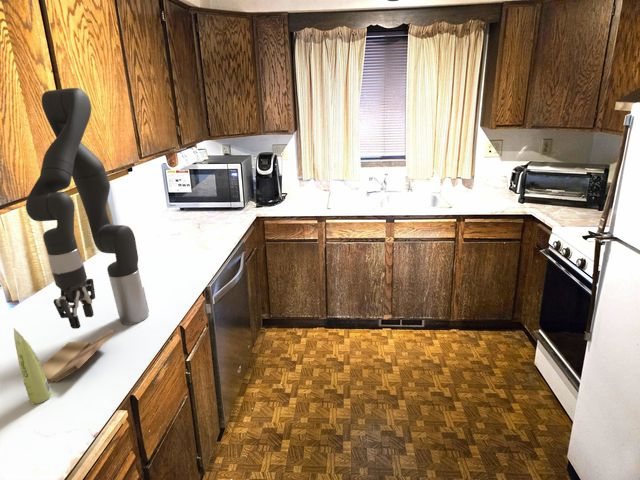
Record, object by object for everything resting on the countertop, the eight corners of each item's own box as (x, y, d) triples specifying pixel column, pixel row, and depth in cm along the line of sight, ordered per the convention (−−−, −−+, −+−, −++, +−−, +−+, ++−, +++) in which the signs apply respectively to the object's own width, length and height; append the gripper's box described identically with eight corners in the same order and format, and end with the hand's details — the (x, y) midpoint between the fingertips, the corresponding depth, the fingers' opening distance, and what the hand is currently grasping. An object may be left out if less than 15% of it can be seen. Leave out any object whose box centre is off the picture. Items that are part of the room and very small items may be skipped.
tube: (23, 405, 112) (-1, 338, 106) (35, 392, 117) (13, 327, 111) (45, 404, 112) (22, 336, 106) (56, 390, 117) (35, 326, 110)
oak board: (69, 345, 138) (68, 342, 138) (92, 345, 137) (91, 342, 137) (28, 382, 121) (26, 378, 121) (53, 382, 120) (52, 378, 120)
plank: (94, 345, 137) (91, 342, 137) (114, 332, 135) (112, 329, 134) (55, 382, 120) (52, 379, 120) (78, 368, 118) (75, 365, 118)
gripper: (71, 256, 125) (86, 309, 131) (35, 277, 112) (53, 336, 117) (96, 255, 124) (109, 309, 130) (62, 277, 111) (79, 336, 116)
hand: (83, 321), depth 124 cm, fingers open, 5 cm apart
